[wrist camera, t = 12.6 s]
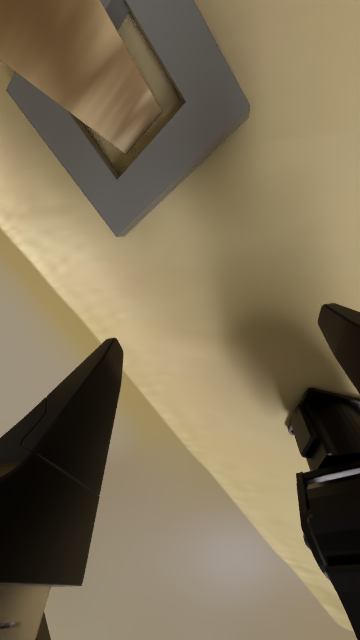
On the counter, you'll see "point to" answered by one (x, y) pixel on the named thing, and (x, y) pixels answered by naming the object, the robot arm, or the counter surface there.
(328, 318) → the robot arm
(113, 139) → the maple peg
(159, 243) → the counter surface
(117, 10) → the socket board
